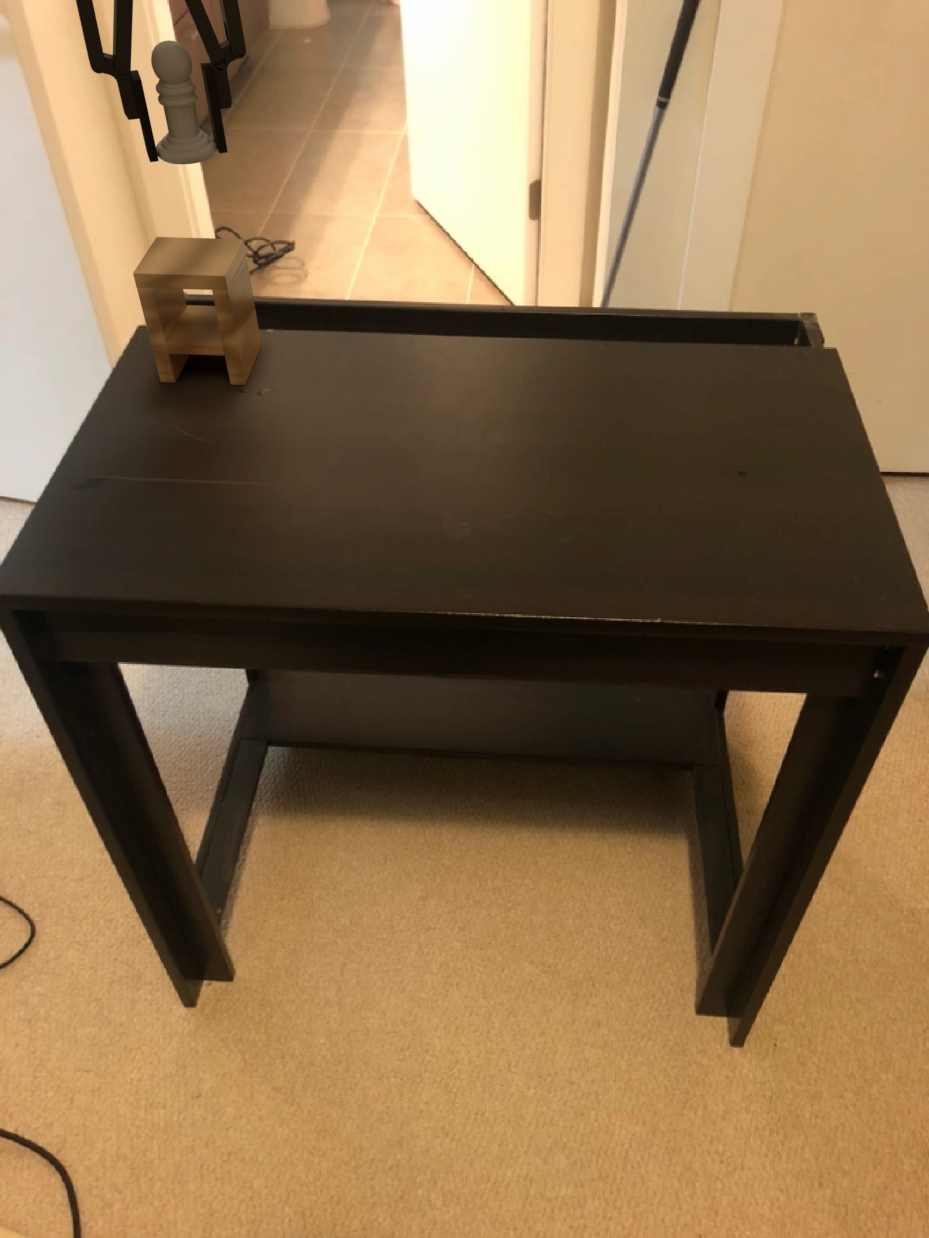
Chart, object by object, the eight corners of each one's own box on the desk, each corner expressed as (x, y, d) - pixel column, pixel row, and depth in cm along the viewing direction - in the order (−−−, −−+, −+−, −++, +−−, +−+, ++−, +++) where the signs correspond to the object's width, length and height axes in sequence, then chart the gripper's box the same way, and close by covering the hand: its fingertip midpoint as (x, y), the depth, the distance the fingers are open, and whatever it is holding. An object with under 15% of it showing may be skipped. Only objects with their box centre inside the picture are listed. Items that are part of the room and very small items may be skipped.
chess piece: (224, 144, 89) (205, 32, 83) (210, 167, 85) (189, 52, 79) (166, 143, 89) (142, 31, 83) (149, 166, 86) (124, 51, 79)
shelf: (160, 382, 103) (132, 273, 94) (181, 343, 108) (156, 236, 100) (245, 385, 102) (225, 276, 94) (261, 346, 108) (243, 239, 99)
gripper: (239, -196, 75) (280, 125, 92) (-14, -185, 71) (77, 150, 88) (257, -184, 70) (297, 154, 87) (-13, -171, 66) (83, 181, 83)
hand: (187, 151), depth 87 cm, fingers closed on chess piece, 5 cm apart
